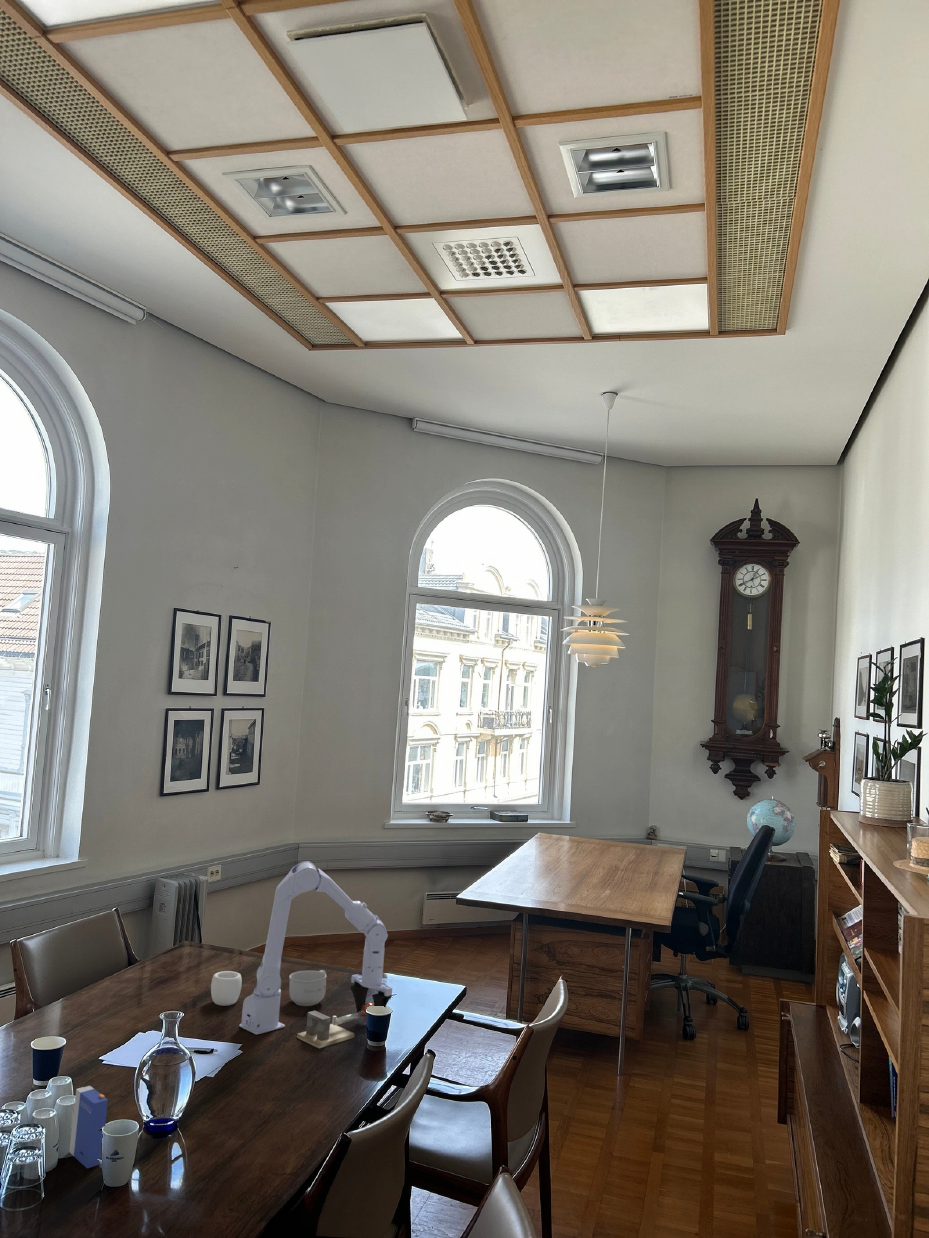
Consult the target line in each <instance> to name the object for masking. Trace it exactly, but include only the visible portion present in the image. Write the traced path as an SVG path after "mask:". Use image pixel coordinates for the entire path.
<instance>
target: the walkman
mask: <svg viewBox="0 0 929 1238" xmlns="http://www.w3.org/2000/svg"><path fill="white" fill-rule="evenodd" d="M108 1101H109V1099H108V1098H106V1095H104V1094H102V1093H100V1092H99V1091H98V1090H96V1088H94V1087H92V1086H91V1085H87V1086H82V1087H79V1088H76V1089H75V1098H74V1107H73V1113H72V1114H73V1115H72V1122H71V1123H72V1124H71V1133H70V1141H69V1142H70V1143H69V1151H68V1152H69V1153H70V1154H71V1156H72V1157H74V1158H75V1159H76V1160H77V1161H78V1162H80V1164H82V1166H84V1167H85V1168H86V1169H90V1168H93V1167H96V1166H99V1165H101V1164H100V1162H99V1160H97V1159H100V1158H101V1143H102V1138H103V1134H102V1131H98V1130H100V1128H102V1127H103V1126H105V1127H106V1124H107V1121H106V1120H107V1112H108V1111H107V1110H108V1105H109V1104H108Z"/></svg>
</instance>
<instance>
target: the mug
mask: <svg viewBox="0 0 929 1238" xmlns="http://www.w3.org/2000/svg"><path fill="white" fill-rule="evenodd" d="M242 983H243V980H242V974H241V973H240V972H237V971H232V970H224V971H219V972H216V973H214V974H213V976H212V978H211V984H210V995H211V998H212V1001H213V1003H214V1004H215V1005H218V1006H223V1007H224V1006H226V1007H227V1006H231V1005H234V1004H235V1003H236V1002H237V1001H238V1000H239V998H240V994H241V991H242V987H243V986H242V985H243V984H242Z"/></svg>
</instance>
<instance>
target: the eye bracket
mask: <svg viewBox="0 0 929 1238" xmlns="http://www.w3.org/2000/svg"><path fill="white" fill-rule="evenodd" d="M306 1015H307V1016H306V1017H307V1019H306V1030H305V1031H302V1032H298V1033H297V1035H296V1038H297V1039H298V1040H301V1041H302V1042H305V1043H308V1044H309V1045H311V1046H313V1047H315V1048H318V1049H322V1048H325V1047H328V1046H331V1045H335V1044H338V1043H341V1042H344V1041H347V1040H352V1039H353V1038H355V1032H353V1031H350V1030H348V1029H345V1028H344V1027H341V1026H338V1025H333V1024H332V1023H331V1017H330V1016H328V1015H327V1014H323V1013H321V1012H319V1011H317V1010H312V1011H308V1012H307V1014H306Z"/></svg>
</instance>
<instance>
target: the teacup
mask: <svg viewBox="0 0 929 1238" xmlns="http://www.w3.org/2000/svg"><path fill="white" fill-rule="evenodd" d="M288 979H289V984H288V985H289V990H288V991H289V997H290V999H291V1001H293V1002H294V1003H295V1005H296V1006H301V1007H311V1006H315V1005H318V1004H319V1003H320V1002H321V1001H322V1000H323V999H324V997H325V995H326V989H327V972H326V970H324V969H320V970H319V971H318V970H299V971H296V972H292V973H290V974H289V976H288Z"/></svg>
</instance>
